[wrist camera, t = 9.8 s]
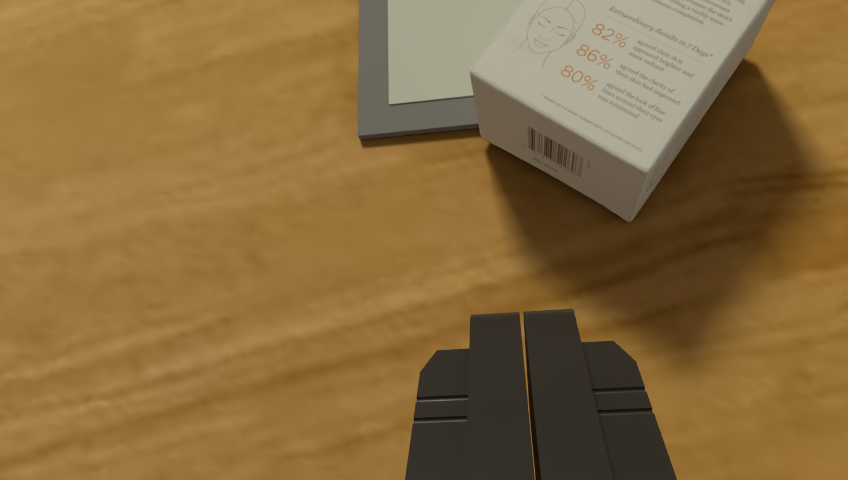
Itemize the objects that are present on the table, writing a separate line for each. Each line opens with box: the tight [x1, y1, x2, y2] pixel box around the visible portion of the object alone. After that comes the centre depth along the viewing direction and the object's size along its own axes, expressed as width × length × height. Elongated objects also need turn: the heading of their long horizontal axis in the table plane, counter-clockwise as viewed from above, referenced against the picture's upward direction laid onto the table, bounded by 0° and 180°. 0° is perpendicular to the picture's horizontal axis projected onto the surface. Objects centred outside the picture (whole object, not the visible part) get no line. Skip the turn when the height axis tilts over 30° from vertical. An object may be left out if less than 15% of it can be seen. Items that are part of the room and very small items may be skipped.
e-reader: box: [358, 0, 524, 140], centre depth 34 cm, size 16×12×1 cm
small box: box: [470, 0, 775, 222], centre depth 28 cm, size 8×6×10 cm
